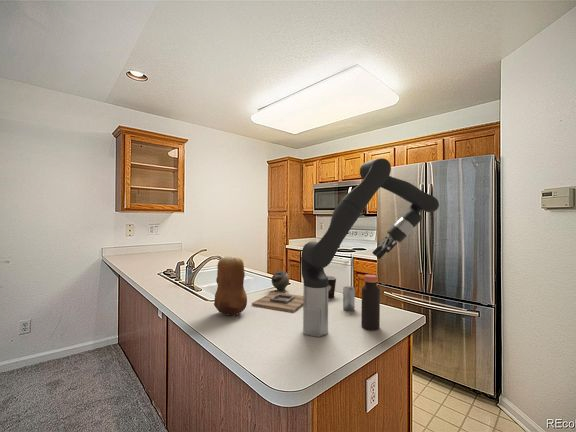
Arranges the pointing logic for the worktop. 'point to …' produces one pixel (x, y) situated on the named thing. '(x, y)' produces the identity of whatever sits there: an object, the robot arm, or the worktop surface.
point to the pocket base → (280, 302)
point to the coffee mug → (331, 286)
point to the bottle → (370, 303)
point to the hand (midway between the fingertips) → (375, 255)
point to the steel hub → (348, 298)
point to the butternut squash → (230, 286)
